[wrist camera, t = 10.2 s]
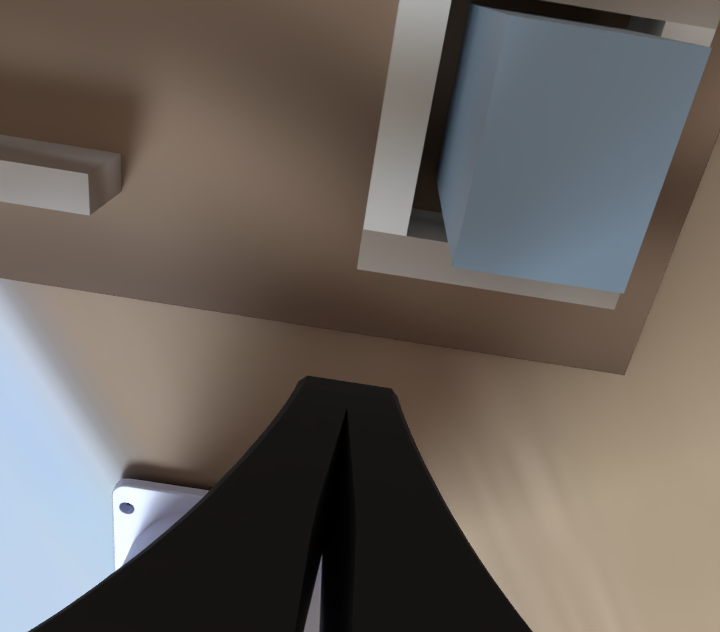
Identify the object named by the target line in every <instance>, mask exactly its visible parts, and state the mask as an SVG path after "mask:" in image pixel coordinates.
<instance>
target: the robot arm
mask: <svg viewBox="0 0 720 632" xmlns="http://www.w3.org/2000/svg"><path fill="white" fill-rule="evenodd" d="M125 502H127V503H130V504H132V505H133V506H130V505H127V504H126V503H125ZM112 503H113V537H114V571H115V572H114V573H112V574H111V575H110V576H108V577H107V578H106V579H104V580H103V581H102V582H100V583H99V584H98V585H96V586H95V587H94V588H92V589H91V590H90V591H88V592H87V593H85V594H84V595H83V596H81V597H80V598H78V599H77V600H75V601H74V602H73V603H71V604H70V605H68V606H67V607H65V608H64V609H62V610H61V611H60V612H58V613H57V614H55V615H53V616H52V617H50V618H49V619H47V620H46V621H44V622H42V623H41V624H39V625H38V626H36V627H35V628H33V629H31V630H30V631H28V632H532V630H531V629H530V628H529V627H528V625H527V624H526V623H525V621H524V620H523V619H522V618H521V616H520V615H519V614H518V612H517V611H516V610H515V609H514V607H513V606H512V604H511V603H510V602H509V600H508V599H507V598H506V596H505V595H504V593H503V592H502V591H501V589H500V588H499V586H498V585H497V584H496V582H495V581H494V580H493V578H492V577H491V575H490V574H489V572H488V571H487V569H486V568H485V566H484V565H483V563H482V562H481V560H480V559H479V557H478V556H477V554H476V553H475V551H474V550H473V548H472V547H471V545H470V543H469V542H468V540H467V539H466V537H465V535H464V534H463V532H462V530H461V529H460V527H459V525H458V524H457V522H456V520H455V519H454V517H453V515H452V514H451V512H450V510H449V508H448V507H447V505H446V503H445V501H444V500H443V498H442V496H441V494H440V492H439V490H438V488H437V486H436V484H435V482H434V481H433V479H432V477H431V475H430V473H429V471H428V469H427V467H426V465H425V463H424V461H423V459H422V457H421V455H420V453H419V451H418V448H417V446H416V444H415V442H414V439H413V437H412V435H411V432H410V430H409V428H408V425H407V423H406V420H405V418H404V415H403V412H402V410H401V407H400V404H399V401H398V397H397V396H396V394H395V393H394V392H393V390H392V389H390V388H384V387H377V386H371V385H364V384H358V383H351V382H345V381H338V380H332V379H325V378H319V377H313V376H306V377H305V378H303V379H302V380H300V381H299V382H298V384H297V386H296V388H295V389H294V391H293V393H292V394H291V396H290V398H289V399H288V401H287V402H286V403H285V405H284V406H283V408H282V409H281V411H280V412H279V413H278V414H277V416H276V417H275V418H274V420H273V421H272V422H271V424H270V425H269V426H268V427H267V429H266V430H265V431H264V432H263V433H262V434H261V436H260V437H259V438H258V439H257V440H256V442H255V443H254V444H253V445H252V446H251V447H250V449H249V450H248V451H247V452H246V453H245V454H244V456H243V457H242V458H241V459H240V460H239V461H238V462H237V463H236V464H235V465H234V466H233V467H232V468H231V469H230V470H229V471H228V472H227V473H226V474H225V476H224V477H223V478H222V479H221V480H220V481H219V482H218V483H217V484H216V485H215V486H214V487H213V488H212V489H211V490H203V489H196V488H190V487H183V486H176V485H170V484H163V483H156V482H150V481H143V480H136V479H122V480H120V481H119V482H118V483H117V484H116V486H115V487H114V489H113V493H112Z"/></svg>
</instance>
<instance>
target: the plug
mask: <svg viewBox="0 0 720 632" xmlns="http://www.w3.org/2000/svg"><path fill="white" fill-rule="evenodd" d="M711 49H712V48H711V47H706V46H702V45H697V44H692V43H687V42H683V41H678V40H673V39H669V38H664V37H659V36H654V35H650V34H645V33H640V32H635V31H631V30H626V29H621V28H616V27H612V26H607V25H602V24H597V23H590V22H584V21H578V20H572V19H565V18H559V17H553V16H547V15H540V14H534V13H528V12H522V11H515V10H509V9H503V8H496V7H490V6H484V5H478V4H471V3H469V8H468V13H467V18H466V23H465V28H464V33H463V38H462V44H461V49H460V54H459V59H458V64H457V69H456V74H455V79H454V84H453V89H452V94H451V99H450V104H449V110H448V115H447V120H446V125H445V130H444V135H443V140H442V145H441V150H440V155H439V160H438V165H437V170H436V176H435V177H436V182H437V187H438V193H439V198H440V203H441V208H442V214H443V219H444V224H445V229H446V235H447V240H448V245H449V250H450V256H451V261H452V266H453V268H458V269H465V270H471V271H478V272H485V273H491V274H498V275H504V276H511V277H518V278H524V279H531V280H537V281H544V282H550V283H557V284H564V285H570V286H577V287H583V288H590V289H596V290H603V291H610V292H616V293H623V294H624V292H625V289H626V286H627V283H628V281H629V278H630V275H631V272H632V269H633V267H634V264H635V261H636V258H637V255H638V253H639V250H640V247H641V244H642V242H643V239H644V236H645V233H646V230H647V228H648V225H649V222H650V219H651V216H652V214H653V211H654V208H655V205H656V202H657V200H658V197H659V194H660V191H661V189H662V186H663V183H664V180H665V177H666V175H667V172H668V169H669V166H670V163H671V161H672V158H673V155H674V152H675V150H676V147H677V144H678V141H679V138H680V136H681V133H682V130H683V127H684V124H685V122H686V119H687V116H688V113H689V110H690V108H691V105H692V102H693V99H694V97H695V94H696V91H697V88H698V85H699V83H700V80H701V77H702V74H703V71H704V69H705V66H706V63H707V60H708V57H709V55H710V52H711Z"/></svg>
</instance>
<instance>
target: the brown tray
mask: <svg viewBox="0 0 720 632" xmlns="http://www.w3.org/2000/svg"><path fill="white" fill-rule="evenodd" d="M469 3H471V4H478V5H484V6H490V7H496V8H503V9H509V10H515V11H522V12H528V13H534V14H540V15H547V16H553V17H559V18H565V19H572V20H578V21H584V22H590V23H597V24H602V25H607V26H612V27H616V28H621V29H626V30H631V31H635V32H640V33H645V34H650V35H654V36H659V37H664V38H669V39H673V40H678V41H683V42H687V43H692V44H697V45H702V46H706V47H711V48H712V49H711V52H710V55H709V57H708V60H707V63H706V66H705V69H704V71H703V74H702V77H701V80H700V83H699V85H698V88H697V91H696V94H695V97H694V99H693V102H692V105H691V108H690V110H689V113H688V116H687V119H686V122H685V124H684V127H683V130H682V133H681V136H680V138H679V141H678V144H677V147H676V150H675V152H674V155H673V158H672V161H671V163H670V166H669V169H668V172H667V175H666V177H665V180H664V183H663V186H662V189H661V191H660V194H659V197H658V200H657V202H656V205H655V208H654V211H653V214H652V216H651V219H650V222H649V225H648V228H647V230H646V233H645V236H644V239H643V242H642V244H641V247H640V250H639V253H638V255H637V258H636V261H635V264H634V267H633V269H632V272H631V275H630V278H629V281H628V283H627V286H626V289H625V292H624V294H623V293H616V292H610V291H603V290H596V289H590V288H583V287H577V286H570V285H564V284H557V283H550V282H544V281H537V280H531V279H524V278H518V277H511V276H504V275H498V274H491V273H485V272H478V271H471V270H465V269H458V268H453V266H452V261H451V256H450V250H449V245H448V240H447V235H446V229H445V224H444V219H443V214H442V208H441V203H440V198H439V193H438V187H437V182H436V177H435V176H436V170H437V165H438V160H439V155H440V150H441V145H442V140H443V135H444V130H445V125H446V120H447V115H448V110H449V104H450V99H451V94H452V89H453V84H454V79H455V74H456V69H457V64H458V59H459V54H460V49H461V44H462V38H463V33H464V28H465V23H466V18H467V13H468V8H469ZM719 132H720V0H0V278H4V279H11V280H17V281H23V282H30V283H36V284H43V285H49V286H55V287H62V288H68V289H75V290H81V291H88V292H94V293H100V294H107V295H113V296H120V297H126V298H132V299H139V300H145V301H152V302H158V303H165V304H171V305H177V306H184V307H190V308H197V309H203V310H210V311H216V312H222V313H229V314H235V315H242V316H248V317H254V318H261V319H267V320H274V321H280V322H287V323H293V324H299V325H306V326H312V327H319V328H325V329H331V330H338V331H344V332H351V333H357V334H364V335H370V336H376V337H383V338H389V339H396V340H402V341H408V342H415V343H421V344H428V345H434V346H441V347H447V348H453V349H460V350H466V351H473V352H479V353H486V354H492V355H498V356H505V357H511V358H518V359H524V360H530V361H537V362H543V363H550V364H556V365H563V366H569V367H575V368H582V369H588V370H595V371H601V372H607V373H614V374H620V375H625V372H626V370H627V367H628V365H629V362H630V360H631V357H632V355H633V352H634V349H635V347H636V344H637V342H638V339H639V337H640V334H641V332H642V329H643V326H644V324H645V321H646V319H647V316H648V314H649V311H650V309H651V306H652V303H653V301H654V298H655V296H656V293H657V291H658V288H659V286H660V283H661V280H662V278H663V275H664V273H665V270H666V268H667V265H668V262H669V260H670V257H671V255H672V252H673V250H674V247H675V245H676V242H677V239H678V237H679V234H680V232H681V229H682V227H683V224H684V222H685V219H686V216H687V214H688V211H689V209H690V206H691V204H692V201H693V199H694V196H695V193H696V191H697V188H698V186H699V183H700V181H701V178H702V176H703V173H704V170H705V168H706V165H707V163H708V160H709V158H710V155H711V153H712V150H713V147H714V145H715V142H716V140H717V137H718V135H719Z"/></svg>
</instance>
